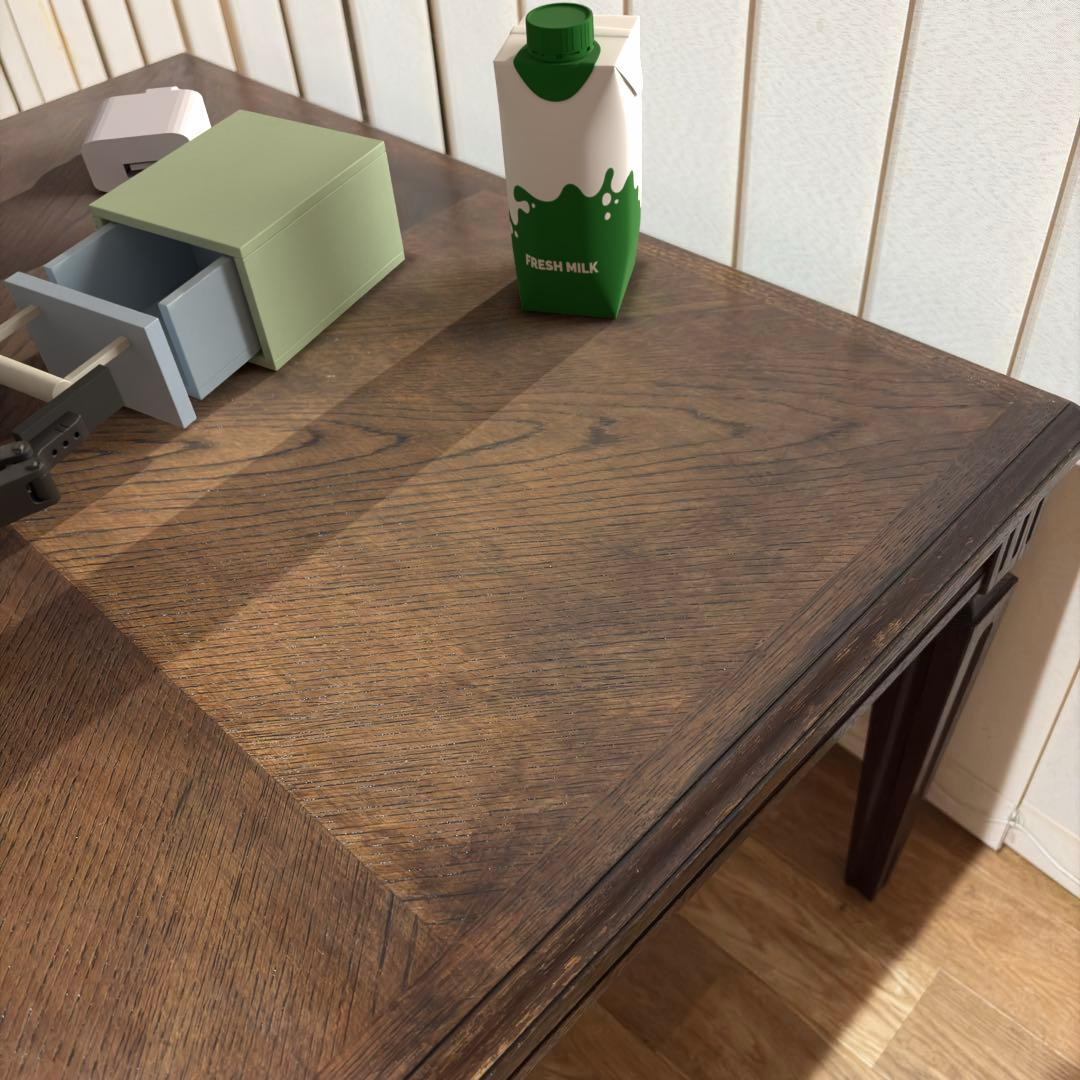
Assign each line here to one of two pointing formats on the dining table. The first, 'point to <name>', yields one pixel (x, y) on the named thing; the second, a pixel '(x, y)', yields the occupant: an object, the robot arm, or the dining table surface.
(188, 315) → the drawer
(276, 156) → the cabinet
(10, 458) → the robot arm
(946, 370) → the dining table surface
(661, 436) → the dining table surface
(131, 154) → the charger
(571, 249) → the milk carton
